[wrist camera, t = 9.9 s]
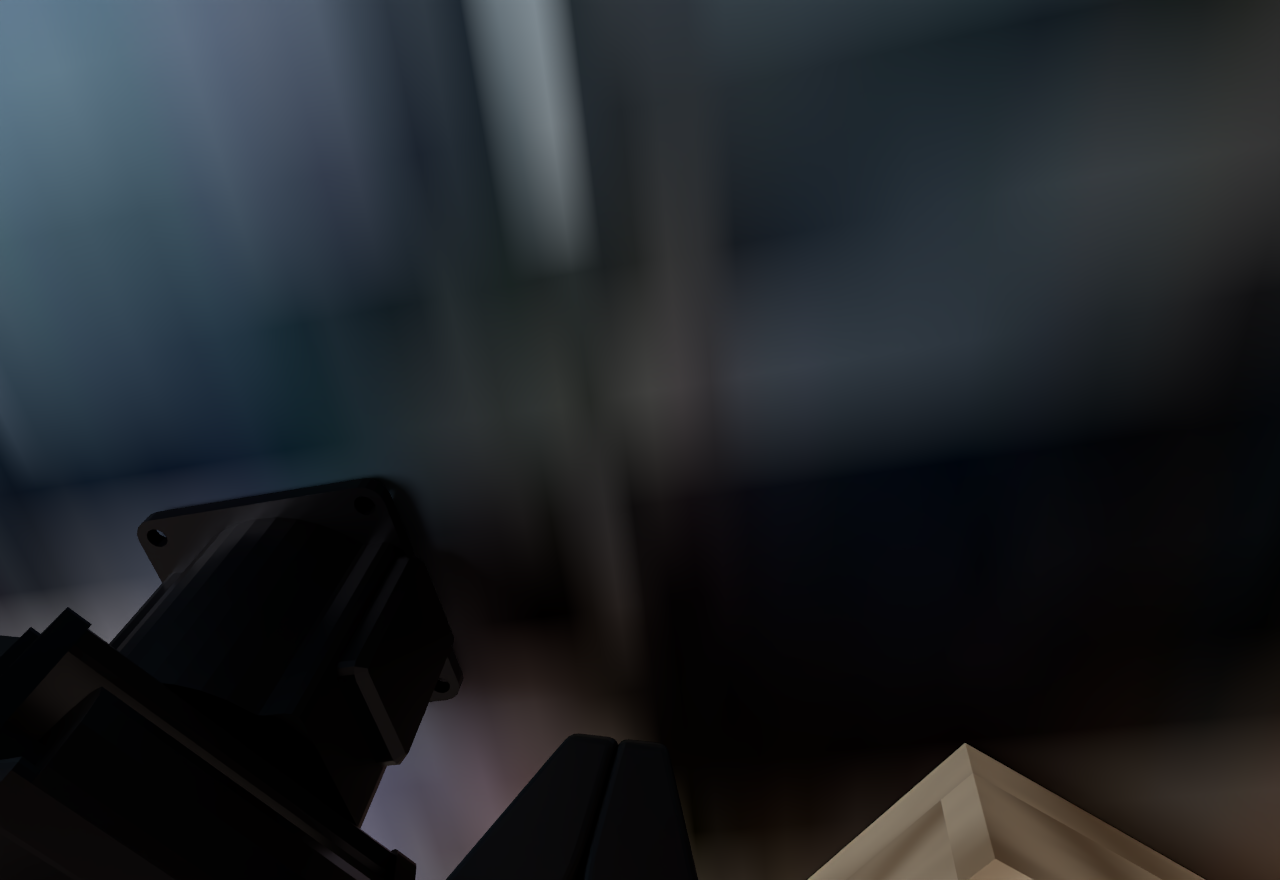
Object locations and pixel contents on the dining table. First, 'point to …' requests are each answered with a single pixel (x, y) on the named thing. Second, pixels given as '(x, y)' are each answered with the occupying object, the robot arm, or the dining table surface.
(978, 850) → the beige tray
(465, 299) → the dining table surface
